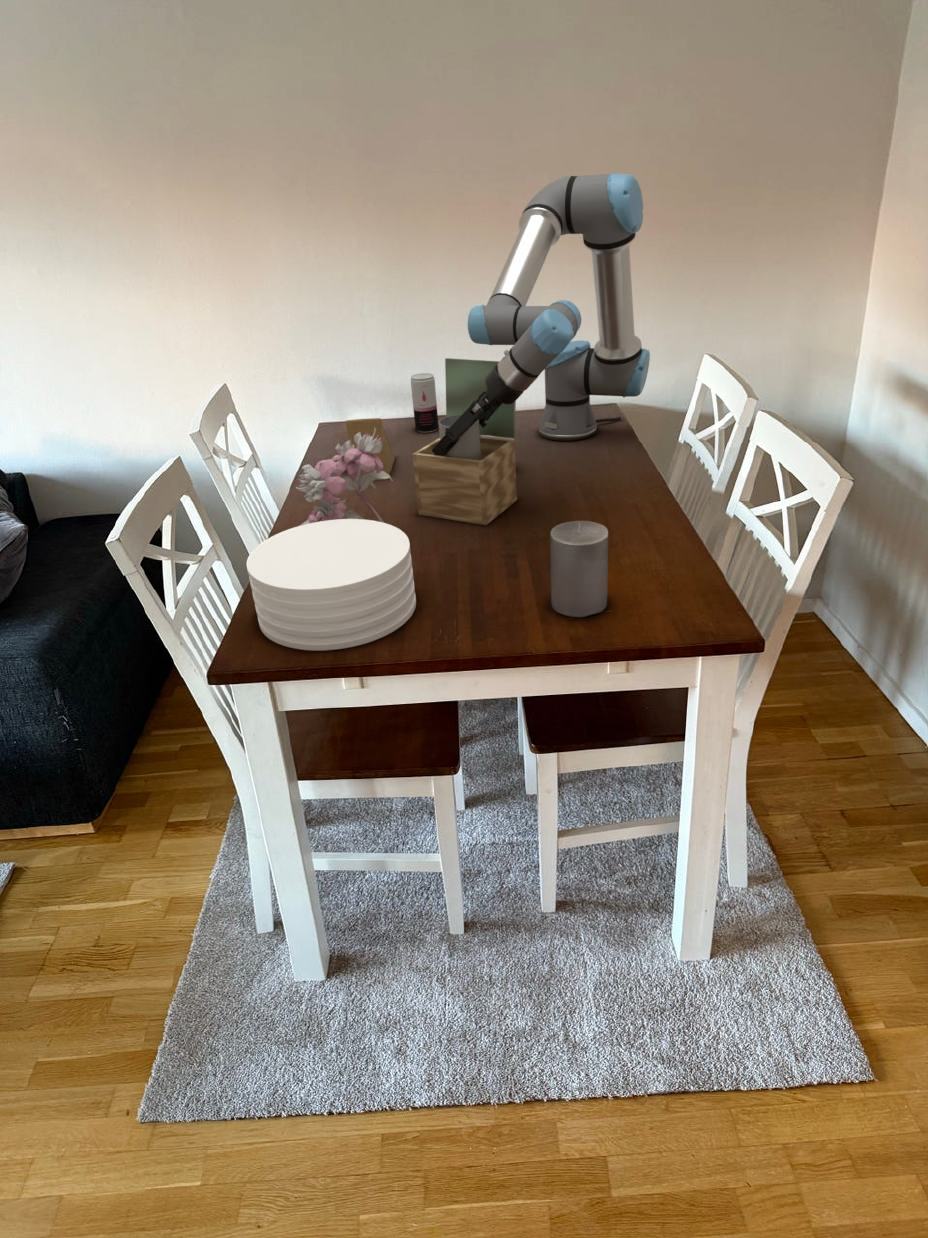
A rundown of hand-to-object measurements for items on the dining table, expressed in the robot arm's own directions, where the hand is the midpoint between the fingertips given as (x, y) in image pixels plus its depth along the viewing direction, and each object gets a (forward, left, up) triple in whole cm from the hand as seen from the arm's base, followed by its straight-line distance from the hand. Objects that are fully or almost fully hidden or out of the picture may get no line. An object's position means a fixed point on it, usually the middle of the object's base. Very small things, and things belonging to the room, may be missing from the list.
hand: (447, 447), depth 186 cm
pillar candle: (-17, +50, -14) cm, 55 cm away
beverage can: (+2, -59, -14) cm, 61 cm away
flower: (+25, +13, -14) cm, 31 cm away
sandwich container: (+17, -31, -14) cm, 38 cm away
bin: (-3, +1, -14) cm, 14 cm away
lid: (-8, -6, +8) cm, 13 cm away
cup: (-3, +2, -4) cm, 5 cm away
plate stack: (+25, +42, -14) cm, 50 cm away
